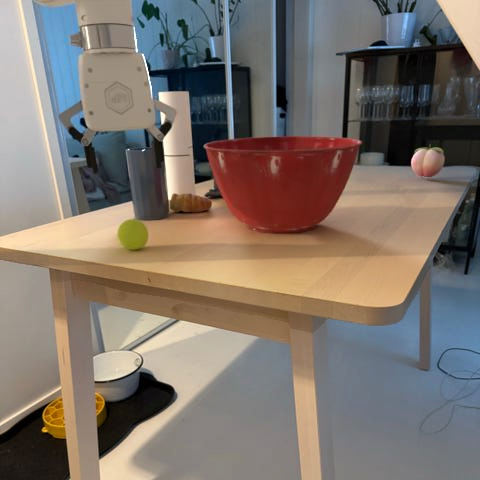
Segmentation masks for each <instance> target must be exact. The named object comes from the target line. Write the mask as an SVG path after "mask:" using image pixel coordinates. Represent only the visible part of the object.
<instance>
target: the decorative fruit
mask: <svg viewBox="0 0 480 480" xmlns="http://www.w3.org/2000/svg"><path fill="white" fill-rule="evenodd" d="M444 154H445V152H444V150H443V149H442V148H441V147H432V146H431V143H429V147H419V148H416V149H415V150H414V154H413V156H412V158H411V161H410V163H411V168H412V170H413V172H414V173H415V174H416V175H417V176H419V177H420V176H424V177H430V178H432V177H434V176H436V175H438V174H439V173H440V172H441V170H442V169H443V168H444V165H445V155H444Z"/></svg>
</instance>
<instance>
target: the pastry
mask: <svg viewBox="0 0 480 480" xmlns="http://www.w3.org/2000/svg"><path fill="white" fill-rule="evenodd" d="M212 205H213V201H212V200H211V199H209V198H208V197H203V196H201V195H197V194H196V195H192V194H190V193H189V194H180V195H178V194H176V193H174V194H172V197H171V200H170V202H169V210H170V211H172V212H174V213H179V212H180V211H182V212H184V213H189V212H192V213H195V212H196V213H198V212H204V211H209V210H210V209H211V208H212Z"/></svg>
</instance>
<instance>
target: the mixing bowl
mask: <svg viewBox="0 0 480 480" xmlns="http://www.w3.org/2000/svg"><path fill="white" fill-rule="evenodd" d="M362 144H363V141H362V140H360V139H355V138H349V137H339V136H338V137H336V136H313V135H312V136H311V135H309V136H308V135H307V136H305V135H304V136H302V135H301V136H299V135H298V136H297V135H295V136H292V135H291V136H260V137H259V136H258V137H244V138H241V137H240V138H231V139H230V138H229V139H224V140H223V139H222V140H216V141H211V142H207V143H205V144H204V145H203V148H204V149H205V151H206V155H207V159H208V163H209V165H210V168H211V171H212V174H213V179H214V178H215V180H216V183H217V185H218V188H219V190H220V192H221V194H222V196H223V197H222V196H221V197H222V198H223V200H224V202H225V204H226V206H227V208H228V209H229V211H230V212H231V214H232V216H233V217H234V218H235V219H236V220H237V221H239V222H240V223H241V224H243V225H245V226H246V227H247V228H248V229H250V230H253V231H254V232H255V231H256V232H259V233H260V232H261V233H268V234H292V233H293V234H294V233H301V232H305V231H308V230H311V229H313V228H315V227H316V226H317V225H319V224H320V223H322V222H324V220H325V219H327V218H328V217H329V216H330V214H331V213H332V211H333V210H334V209H335V208H336V205H337V204H338V202H339V200H340V198H341V197H342V194H343V192H344V190H345V188H346V186H347V184H348V182H349V179H350V176H351V174H352V171H353V168H354V166H355V163H356V160H357V156H358V153H359V149H360V146H361V145H362Z"/></svg>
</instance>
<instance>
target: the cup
mask: <svg viewBox="0 0 480 480" xmlns="http://www.w3.org/2000/svg"><path fill="white" fill-rule="evenodd" d="M163 154H164V147H163ZM125 155H126V162H127V170H128V171H127V172H128V178H129V186H130V194H131V195H130V196H131V202H132V210H133V211H132V212H133V216H134V219H135V220H138V221H157V220H163V219H167V218H169V217H170V211H171V210H170V202H169V201H170V200H169V199H168V188H167V177H166V166H165V156H164V162H161V168H160V169H158V168H156V167H154V165H153V156H152V148H151V146H149V147H133V148H127V149H125Z"/></svg>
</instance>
